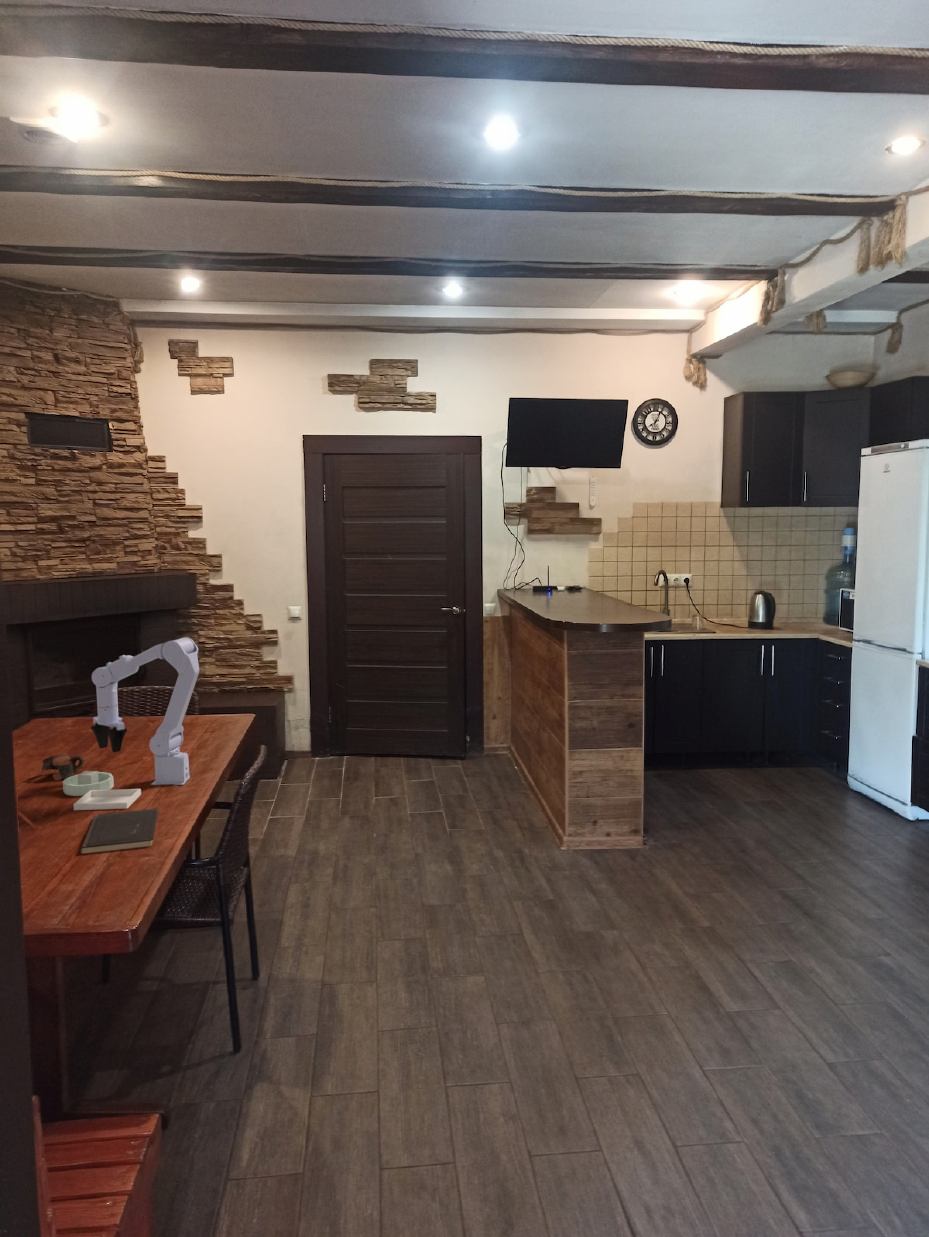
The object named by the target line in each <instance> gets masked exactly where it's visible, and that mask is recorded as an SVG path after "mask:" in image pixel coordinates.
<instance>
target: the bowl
mask: <svg viewBox="0 0 929 1237" xmlns="http://www.w3.org/2000/svg"><path fill="white" fill-rule="evenodd" d="M79 774H80V773H78V774H74V776H71V777H68V778H64V780H63V781H62V787H63V793H64V794H65V795H67V796H73V797H83V796H84V795H85V794H86V793H88V792H89V791H90V790H112V789H113V787H115V783H114V779H115V778H114V776H113V775H112V773H111V772H103V771H102V772H101V771H98V779H99V783H93V784H87V785H78V775H79Z"/></svg>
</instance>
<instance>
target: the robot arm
mask: <svg viewBox="0 0 929 1237" xmlns="http://www.w3.org/2000/svg"><path fill="white" fill-rule="evenodd" d="M198 653H199V647H198V646H197V644H196V642H195V641H194V640H193V639H192V638H190V637H187V636H185V637H181V638H178V639H174V640H168V641H165V642H164V643H160V644H156V645H153V646H152V647H150V648H149V649H147V650H144V651H143V652H141V653H138V654H137V655H134V656H132V655H130V654H129V655H128V654H127V655H125V654H123V655H120V656H118V659H116V660H115V661H113V662H111V661H109V662H107V663H106V665H105V666H102V667H97V668H96V669H95V670H94V671H93V672H92V673H91V681H92V683H93V684H94V685H95V689H96V704H97V708H96V709H97V716H94V717H92V720H93V721H92V722H93V723H92V724H94V725H91V726H90V729H91V731H92V732H93V733H94V735H95V738H96V741H97V744H98V748H99V749H106V748H108V745H109V740H110V745H111V746H110V747H111V751H112V753H117V752H118V753H119V752H121V749H122V744H123V742H124V741H123V740H124V737H125V735H126V734H127V732H128V728H127V727H125V722H123V718H122V717H120V716H119V706H118V705H119V703H118V700H119V699H118V688H119V687H118V685H119V684H118V682H120V681H121V680H123V679H126V678H127V677H129V676H131V675H134V674H136V673H137V672H138V671H139V669H140V667H141V666H143V665H145V664H147V663H149V662H152V661H154V660H156V659H160V660H165V661H167V663H169V665H171V666H172V667H173V668H174V669H175V670H176V672H177V673H178V676H177V679H176V682H175V684H174V688H173V691H172V693H171V694H172V695H171V696H170V700H169V704H168V705H167V709H166V712H165V715H164V718H163V721H162V722H161V724H160V725H159V726H158V728H157V729H156V732H155V734H154V735H152V737H151V738H150V740H149V749H150V751H151V753H152V754H153V756H154V758H153V759H154V774H155V775H154V776H155V780H153V781H152V783H151V784H150V785H152V786H155V785H157V786H158V785H159V786H160V785H174V786H182V785H183V786H184V785H185V783H186V782H188V780H189V779H190V777H191V776H190V763H189V762H190V761H189V759H190V758H189V755H188V753H187V752H181V751H180V750H181V749H180V747H181V746H182V745H183V743H184V730H185V728H184V726H183V721H184V718H185V716H186V713H187V710H188V706H189V704H190V700H191V698H192V694H193V693H194V688H195V686H196V683H197V680H198V677H199V674H200V664H199V659H198Z"/></svg>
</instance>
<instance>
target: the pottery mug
mask: <svg viewBox="0 0 929 1237" xmlns="http://www.w3.org/2000/svg"><path fill="white" fill-rule="evenodd" d="M77 761H79V762H78V764H77V765H76V762H77ZM42 764H43V765H42V767H41V771H45V770H46V771H50V770H53V771H55V770H56V771H57V770H58V771H57V772H56V773H53V774H52V776H53V778H54V781H55V782H57V781H61V780H63V779H64V780H65V779H67V778H68V777H71V776H75V774H76V773H77V772H78V770H80V769H82V767H83V765H84V764H85V759H84V757H83V756H81V755H78V754H77V755H74V756H71V757H70V756H69V753H67V752H61V753H58V754H54V755H51V756H49V757H47V758H44V759H43V760H42Z"/></svg>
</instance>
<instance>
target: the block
mask: <svg viewBox="0 0 929 1237" xmlns="http://www.w3.org/2000/svg"><path fill="white" fill-rule="evenodd" d="M98 772H99V771H98V770H84V771H83V772H81V773H78V774H79V775H78V774H77V775H78V785H87V784H93V783H99V779H98Z"/></svg>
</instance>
